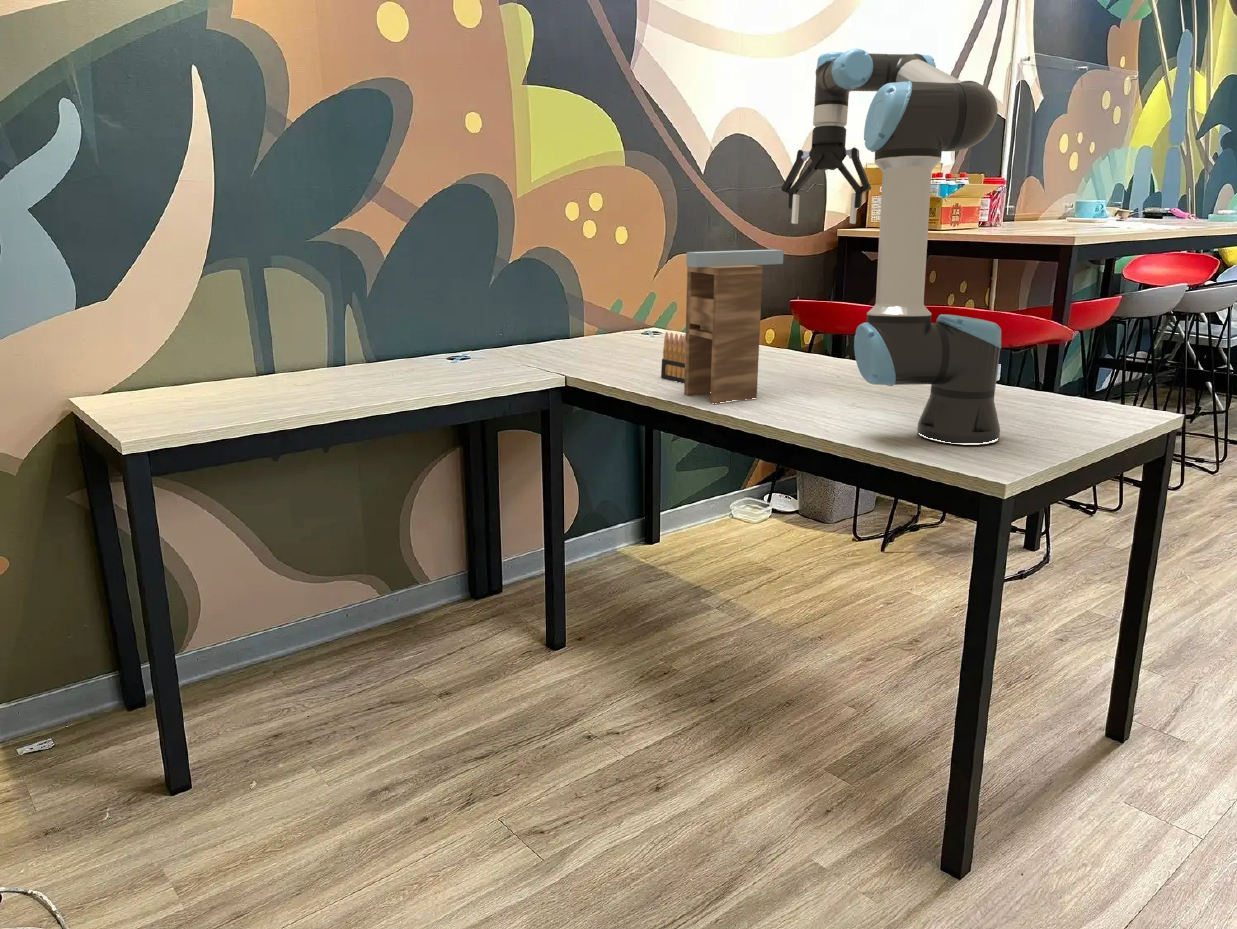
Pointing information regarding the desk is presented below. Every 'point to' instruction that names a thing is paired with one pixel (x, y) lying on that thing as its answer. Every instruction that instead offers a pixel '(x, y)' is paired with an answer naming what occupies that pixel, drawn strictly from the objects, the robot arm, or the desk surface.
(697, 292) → the rack
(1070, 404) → the desk surface
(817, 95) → the robot arm
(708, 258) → the batten
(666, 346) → the ammunition clip
